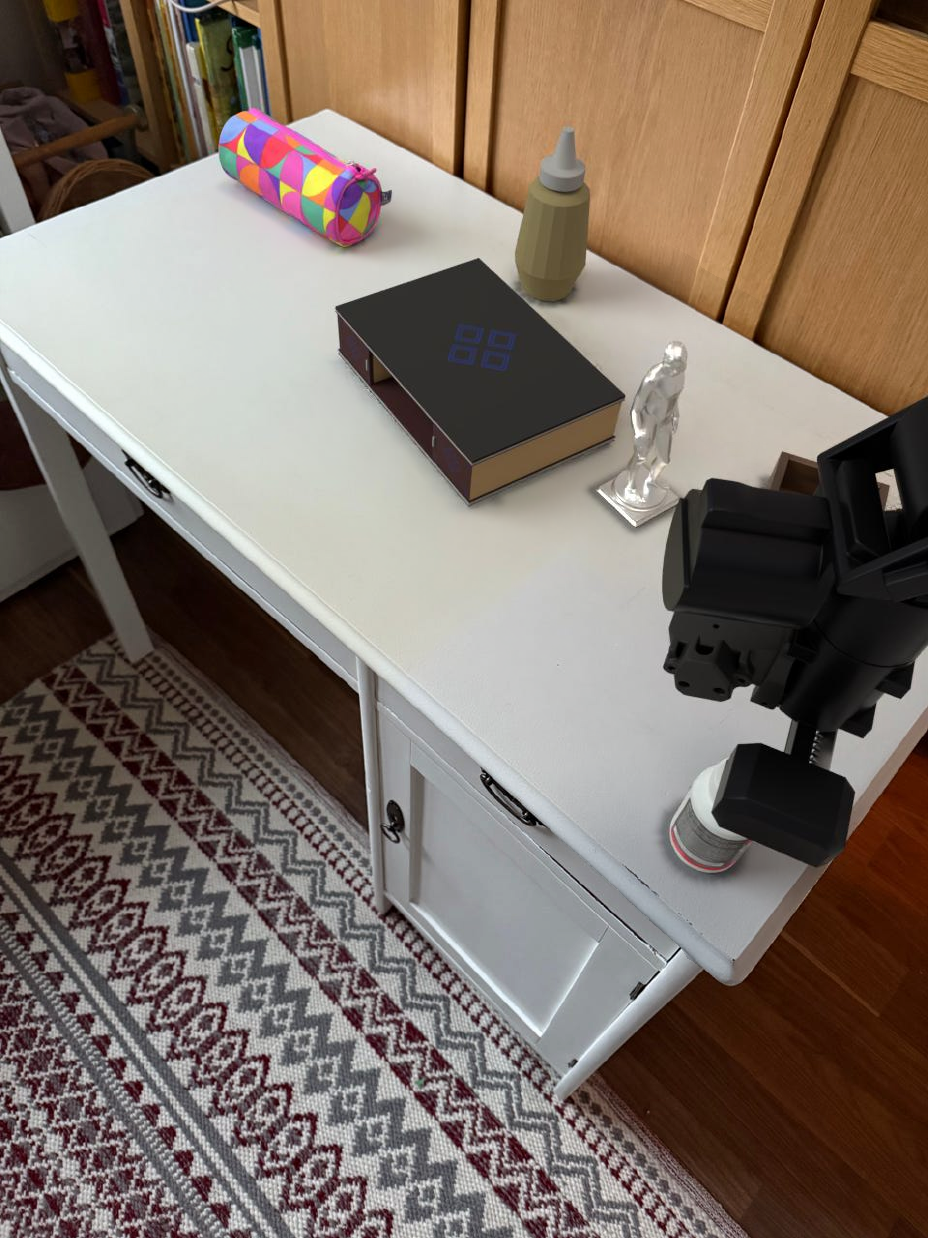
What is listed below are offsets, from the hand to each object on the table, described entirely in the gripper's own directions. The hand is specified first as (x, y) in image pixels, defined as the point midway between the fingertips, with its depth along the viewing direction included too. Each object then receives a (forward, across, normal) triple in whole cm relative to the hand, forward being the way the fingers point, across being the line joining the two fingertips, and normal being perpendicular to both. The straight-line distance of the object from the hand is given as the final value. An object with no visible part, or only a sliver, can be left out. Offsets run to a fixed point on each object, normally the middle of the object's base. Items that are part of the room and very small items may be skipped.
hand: (756, 760), depth 57 cm
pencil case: (+14, -59, -66) cm, 89 cm away
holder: (+12, -34, +2) cm, 36 cm away
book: (+14, -36, -34) cm, 51 cm away
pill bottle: (+13, 0, 0) cm, 13 cm away
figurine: (+13, -30, -15) cm, 36 cm away
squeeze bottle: (+13, -58, -34) cm, 68 cm away
